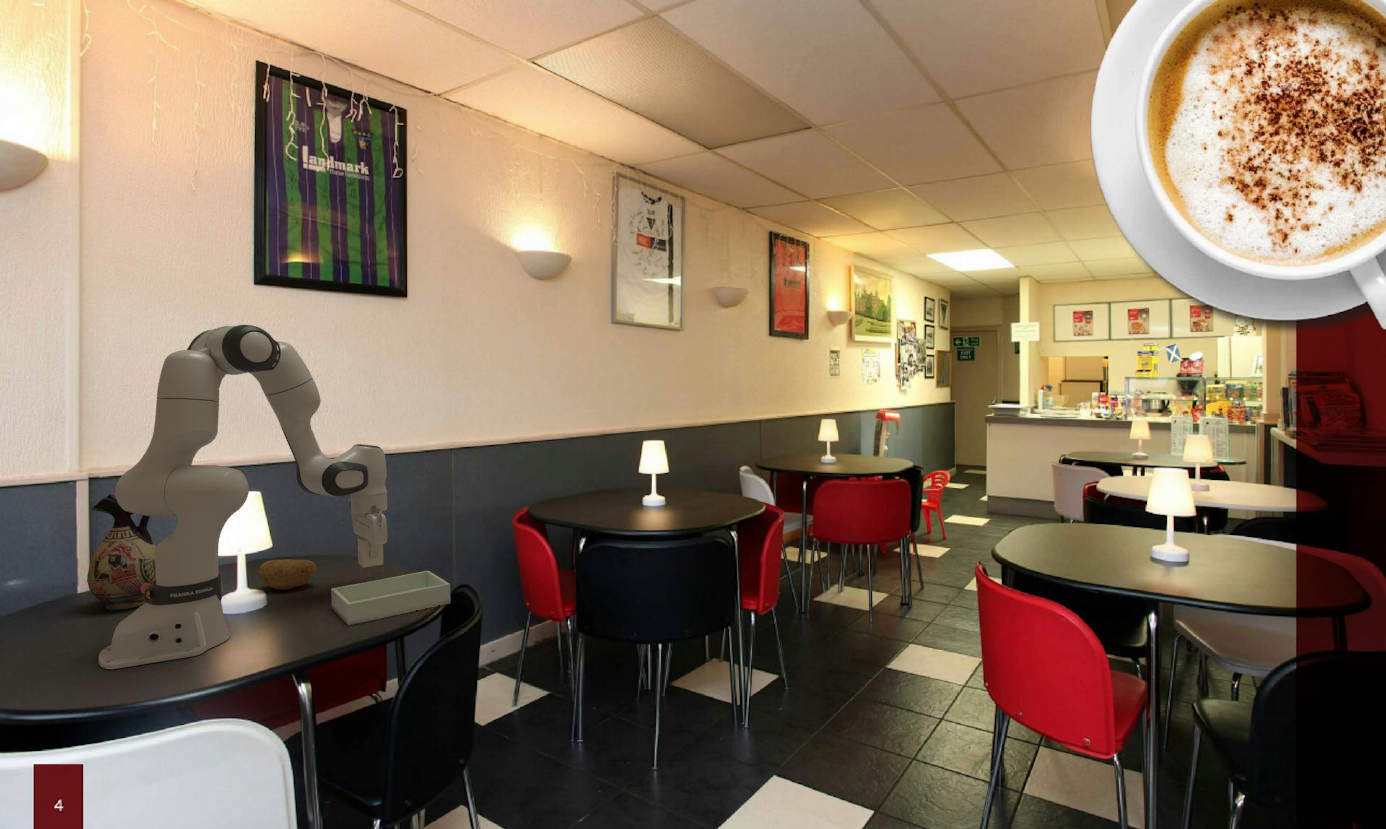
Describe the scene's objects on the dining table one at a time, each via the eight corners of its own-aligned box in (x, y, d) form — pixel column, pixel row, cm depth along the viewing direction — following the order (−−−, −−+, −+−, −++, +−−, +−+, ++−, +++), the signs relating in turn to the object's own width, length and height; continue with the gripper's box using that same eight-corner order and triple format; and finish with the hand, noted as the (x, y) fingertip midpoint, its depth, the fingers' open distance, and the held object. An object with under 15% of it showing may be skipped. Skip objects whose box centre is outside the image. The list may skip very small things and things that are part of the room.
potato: (310, 592, 187) (309, 562, 187) (252, 595, 185) (251, 565, 184) (322, 581, 197) (321, 553, 196) (267, 584, 194) (266, 556, 194)
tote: (348, 625, 163) (347, 604, 162) (331, 608, 175) (331, 588, 174) (450, 603, 178) (450, 584, 178) (428, 588, 190) (428, 570, 190)
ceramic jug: (78, 619, 168) (71, 495, 166) (101, 599, 182) (95, 485, 180) (165, 608, 174) (158, 489, 173) (181, 591, 188) (175, 480, 187)
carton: (363, 567, 185) (362, 541, 185) (358, 563, 189) (357, 538, 188) (383, 564, 188) (382, 538, 188) (377, 560, 192) (377, 535, 192)
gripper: (393, 508, 182) (394, 560, 182) (371, 498, 197) (372, 546, 198) (367, 511, 178) (368, 564, 178) (347, 500, 193) (348, 550, 194)
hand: (370, 555), depth 188 cm, fingers closed on carton, 5 cm apart
